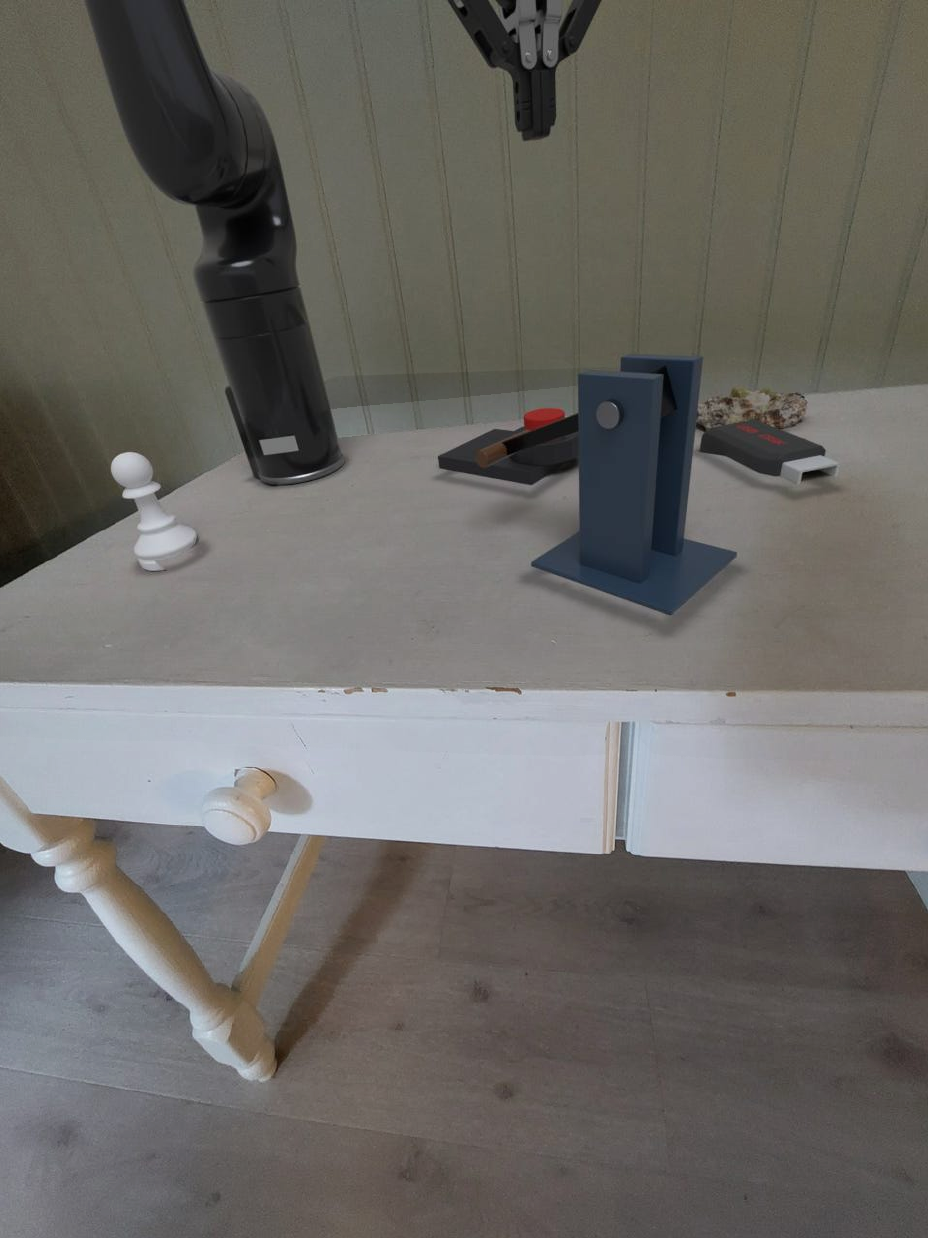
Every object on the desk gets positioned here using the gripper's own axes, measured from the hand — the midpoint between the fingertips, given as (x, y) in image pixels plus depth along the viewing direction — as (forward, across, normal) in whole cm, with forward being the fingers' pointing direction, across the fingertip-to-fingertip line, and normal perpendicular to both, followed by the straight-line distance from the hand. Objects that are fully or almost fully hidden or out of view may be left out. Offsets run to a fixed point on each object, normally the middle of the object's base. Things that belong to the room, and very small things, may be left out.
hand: (535, 138), depth 44 cm
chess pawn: (+25, +37, +3) cm, 45 cm away
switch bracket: (+25, +6, +25) cm, 36 cm away
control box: (+25, +5, +2) cm, 26 cm away
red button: (+21, +3, +6) cm, 22 cm away
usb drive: (+25, -13, +16) cm, 32 cm away
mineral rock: (+25, -20, +6) cm, 33 cm away
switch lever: (+17, +8, +21) cm, 28 cm away
